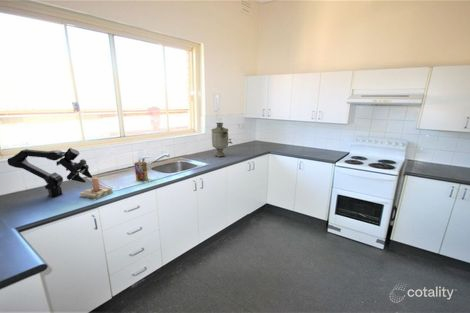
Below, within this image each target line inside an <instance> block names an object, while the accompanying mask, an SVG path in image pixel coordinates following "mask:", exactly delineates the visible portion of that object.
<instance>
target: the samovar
mask: <svg viewBox="0 0 470 313" xmlns="http://www.w3.org/2000/svg"><path fill="white" fill-rule="evenodd" d="M215 124H216V127H215V128H212V129H211V146H212V148H214V149H216V151H217V152H216V153H215V154H214V155H213V157H215V156H216V157H217V159H219V158H220V157H223V156H224V157H227V155H226V154H225V153H224V152H223V151H224V149H226V148H228V146H229V144H232V145H233V142H232V141H231V140H232V138H229V128H228V127H227V128H226V127H224V126H223V125H224V122H216V123H215Z"/></svg>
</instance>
